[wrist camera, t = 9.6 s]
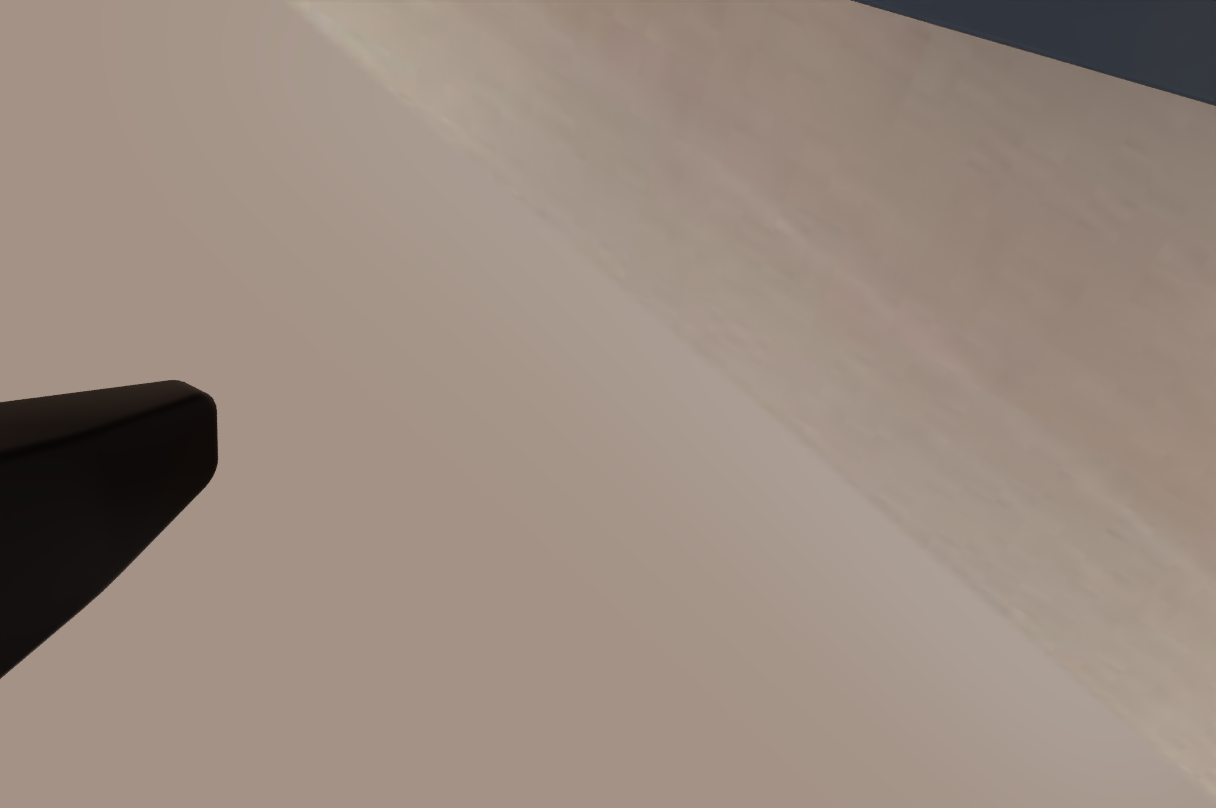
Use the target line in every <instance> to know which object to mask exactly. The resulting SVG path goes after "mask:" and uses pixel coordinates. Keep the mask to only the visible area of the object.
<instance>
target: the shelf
mask: <svg viewBox="0 0 1216 808" xmlns="http://www.w3.org/2000/svg"><path fill="white" fill-rule="evenodd" d="M852 1H855V2H858V3H862V4H865V5H869V6H872V7H876V8H879V9H883V10H886V11H890V12H893V13H897V14H900V15H903V16H907V17H910V18H914V19H917V20H921V21H924V22H928V23H931V24H935V25H938V26H941V27H945V28H948V29H952V30H955V31H959V32H962V33H966V34H969V35H973V36H976V37H979V38H983V39H986V40H990V41H993V42H997V43H1000V44H1004V45H1007V46H1011V47H1014V48H1017V49H1021V50H1024V51H1028V52H1031V53H1035V54H1038V55H1042V56H1045V57H1049V58H1052V59H1056V60H1059V61H1062V62H1066V63H1069V64H1073V65H1076V66H1080V67H1083V68H1087V69H1090V70H1094V71H1097V72H1100V73H1104V74H1107V75H1111V76H1114V77H1118V78H1121V79H1125V80H1128V81H1132V82H1135V83H1138V84H1142V85H1145V86H1149V87H1152V88H1156V89H1159V90H1163V91H1166V92H1170V93H1173V94H1177V95H1180V96H1183V97H1187V98H1190V99H1194V100H1197V101H1201V102H1204V103H1208V104H1211V105H1215V106H1216V0H852Z"/></svg>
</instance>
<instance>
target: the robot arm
mask: <svg viewBox="0 0 1216 808" xmlns="http://www.w3.org/2000/svg"><path fill="white" fill-rule="evenodd" d="M217 464H218V441H217V409H216V404H215V402H214V400H213V398H212V397H211V396H210V395H209V394H207V393H205V392H203V391H201V390H199V389H197V388H195V387H193V386H191V385H189V384H187V383H185V382H181V381H178V380H168V381H161V382H154V383H146V384H138V385H130V386H122V387H114V388H107V389H99V390H91V391H84V392H76V393H68V394H61V395H53V396H45V397H38V398H30V399H22V400H15V401H8V402H0V679H1V678H2V677H3V676H4V675H5V674H6V673H8V672H9V671H10V670H11V669H12V668H14V667H15V666H16V665H17V664H18V663H20V662H21V661H22V660H23V659H24V658H25V657H26V656H28V655H29V654H30V653H31V652H33V651H34V650H35V649H36V648H37V647H38V646H40V645H41V644H42V643H43V642H44V641H46V640H47V639H48V638H49V637H50V636H51V635H52V634H54V633H55V632H56V631H57V630H58V629H60V628H61V627H62V626H63V625H64V624H66V623H67V622H68V621H69V620H70V619H72V618H73V617H74V616H75V615H76V614H77V613H79V612H80V611H81V610H82V609H83V608H85V606H87V605H88V604H89V603H90V602H91V601H92V600H93V599H95V598H96V597H97V596H98V595H99V594H100V593H101V592H103V591H104V589H106V588H107V586H109V584H111V583H112V582H113V581H114V580H115V579H116V578H117V577H118V576H119V575H120V574H121V573H122V572H123V571H124V570H125V569H126V568H127V567H128V566H129V565H130V564H131V563H132V562H133V561H134V560H135V559H136V558H137V556H139V555H140V553H141V552H142V551H143V550H144V549H145V548H146V547H147V546H148V545H149V544H150V543H151V542H152V541H153V540H154V539H155V538H156V537H157V536H158V535H159V534H160V533H161V532H162V531H163V530H164V529H165V528H166V527H167V526H168V525H169V524H170V523H171V521H173V520H174V519H175V517H177V516H178V515H179V513H180V512H181V511H182V510H183V509H184V508H185V507H186V506H187V505H188V504H189V503H190V502H191V501H192V500H193V499H194V498H195V497H196V496H197V495H198V494H199V493H200V492H201V491H202V490H203V489H204V488H205V487H206V485H207V484H208V483H209V482H210V480H211V479H212V477H213V475H214V473H215V471H216V468H217Z"/></svg>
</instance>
